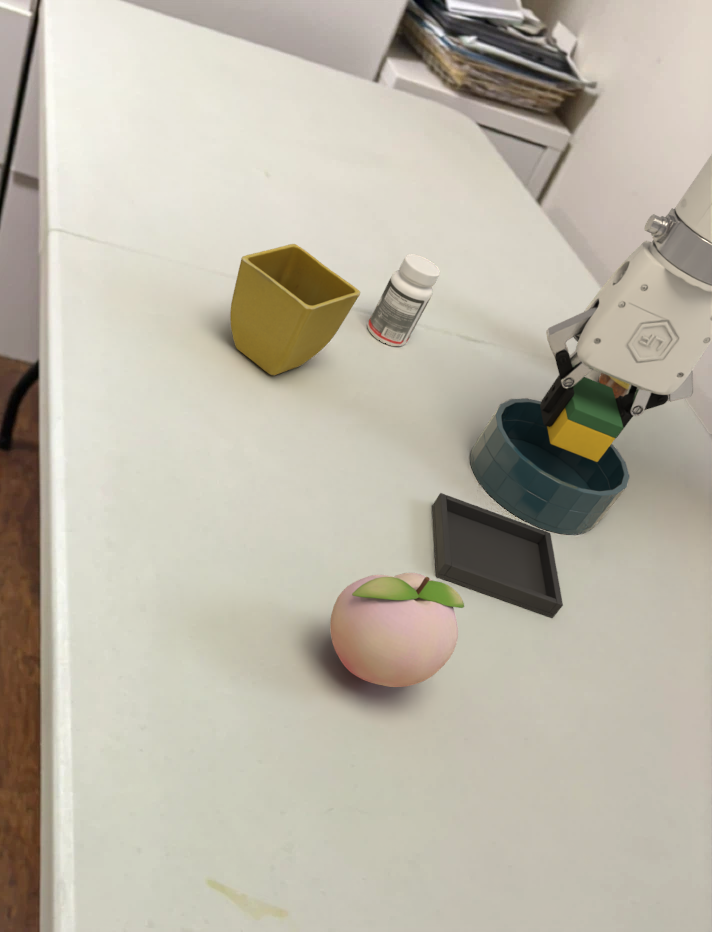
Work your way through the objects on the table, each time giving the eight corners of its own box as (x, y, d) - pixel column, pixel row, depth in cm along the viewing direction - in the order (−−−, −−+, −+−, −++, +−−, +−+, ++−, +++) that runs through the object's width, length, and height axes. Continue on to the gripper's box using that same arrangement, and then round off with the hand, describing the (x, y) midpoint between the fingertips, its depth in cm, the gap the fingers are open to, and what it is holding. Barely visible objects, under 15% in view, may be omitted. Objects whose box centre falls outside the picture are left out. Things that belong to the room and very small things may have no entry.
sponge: (587, 422, 106) (612, 387, 104) (597, 462, 102) (623, 428, 99) (542, 404, 106) (566, 369, 103) (549, 444, 101) (575, 408, 98)
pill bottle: (382, 318, 121) (418, 248, 115) (413, 343, 120) (451, 273, 114) (358, 325, 118) (393, 254, 112) (389, 351, 117) (427, 280, 111)
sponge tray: (540, 545, 102) (550, 532, 100) (552, 618, 95) (563, 605, 94) (431, 505, 100) (440, 492, 99) (435, 576, 93) (445, 563, 92)
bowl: (588, 468, 114) (617, 429, 111) (607, 552, 105) (640, 513, 101) (465, 421, 112) (491, 380, 109) (474, 503, 103) (502, 461, 99)
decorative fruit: (340, 725, 78) (406, 630, 71) (291, 640, 82) (348, 542, 75) (440, 711, 82) (511, 620, 75) (388, 631, 86) (451, 537, 79)
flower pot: (207, 340, 106) (240, 254, 99) (261, 323, 111) (295, 241, 105) (272, 393, 104) (310, 309, 97) (324, 373, 109) (363, 292, 103)
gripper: (616, 232, 86) (494, 419, 100) (799, 310, 89) (657, 482, 102) (603, 194, 92) (488, 376, 105) (776, 269, 94) (643, 438, 107)
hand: (573, 427), depth 103 cm, fingers closed on sponge, 5 cm apart
